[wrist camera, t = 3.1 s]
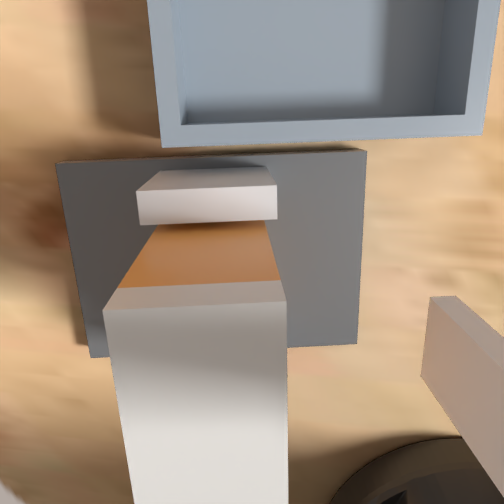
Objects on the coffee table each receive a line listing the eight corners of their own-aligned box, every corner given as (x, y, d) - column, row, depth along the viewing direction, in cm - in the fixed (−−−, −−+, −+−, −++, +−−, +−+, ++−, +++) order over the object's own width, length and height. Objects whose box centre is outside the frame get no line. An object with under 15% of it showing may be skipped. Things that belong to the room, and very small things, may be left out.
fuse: (261, 314, 22) (288, 506, 11) (183, 318, 21) (136, 516, 11) (258, 199, 20) (286, 301, 9) (172, 202, 20) (102, 310, 9)
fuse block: (351, 334, 23) (390, 407, 18) (96, 347, 23) (51, 426, 17) (360, 148, 20) (410, 165, 14) (63, 160, 20) (-6, 182, 14)
